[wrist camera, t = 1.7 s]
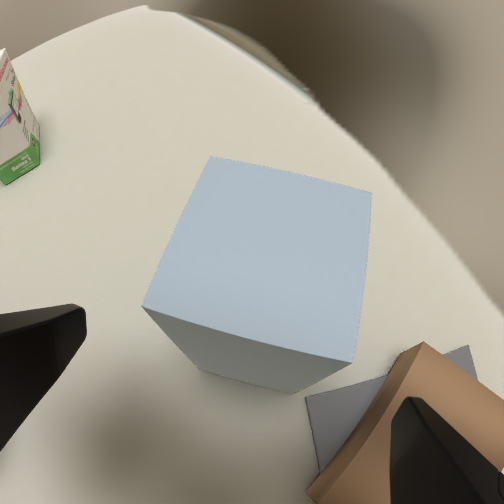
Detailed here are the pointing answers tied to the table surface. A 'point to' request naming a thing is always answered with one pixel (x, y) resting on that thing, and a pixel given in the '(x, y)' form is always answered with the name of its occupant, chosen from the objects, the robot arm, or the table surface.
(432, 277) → the table surface
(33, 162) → the ink box
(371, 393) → the build mat
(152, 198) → the table surface
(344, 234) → the pillar block
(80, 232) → the table surface
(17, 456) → the table surface
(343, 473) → the base block
